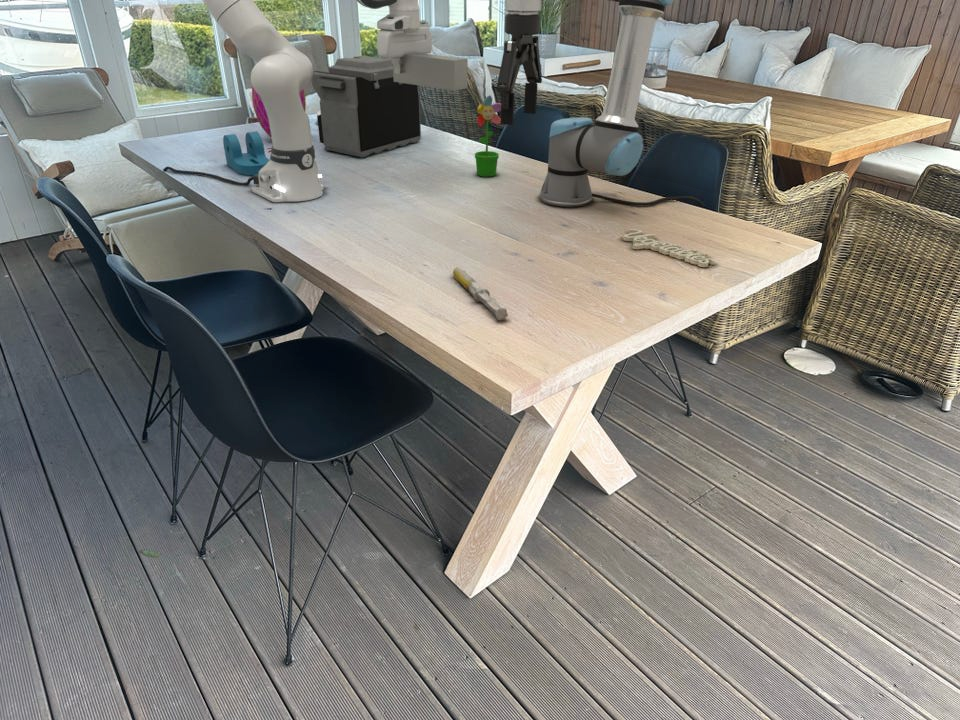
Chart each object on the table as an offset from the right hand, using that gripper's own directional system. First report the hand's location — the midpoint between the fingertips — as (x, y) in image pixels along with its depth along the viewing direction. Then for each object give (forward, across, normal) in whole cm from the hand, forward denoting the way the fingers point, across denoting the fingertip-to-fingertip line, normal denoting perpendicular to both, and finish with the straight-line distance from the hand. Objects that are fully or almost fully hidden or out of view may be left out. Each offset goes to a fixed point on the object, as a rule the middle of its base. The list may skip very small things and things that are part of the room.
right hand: (518, 118), depth 154 cm
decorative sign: (+31, -14, +34) cm, 48 cm away
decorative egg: (+31, -64, -123) cm, 142 cm away
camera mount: (+31, -27, -106) cm, 114 cm away
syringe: (+31, +30, +4) cm, 43 cm away
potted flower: (+31, -56, -33) cm, 72 cm away
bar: (+2, -42, -46) cm, 62 cm away
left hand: (-1, -44, -55) cm, 70 cm away
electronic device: (+31, -72, -88) cm, 118 cm away
